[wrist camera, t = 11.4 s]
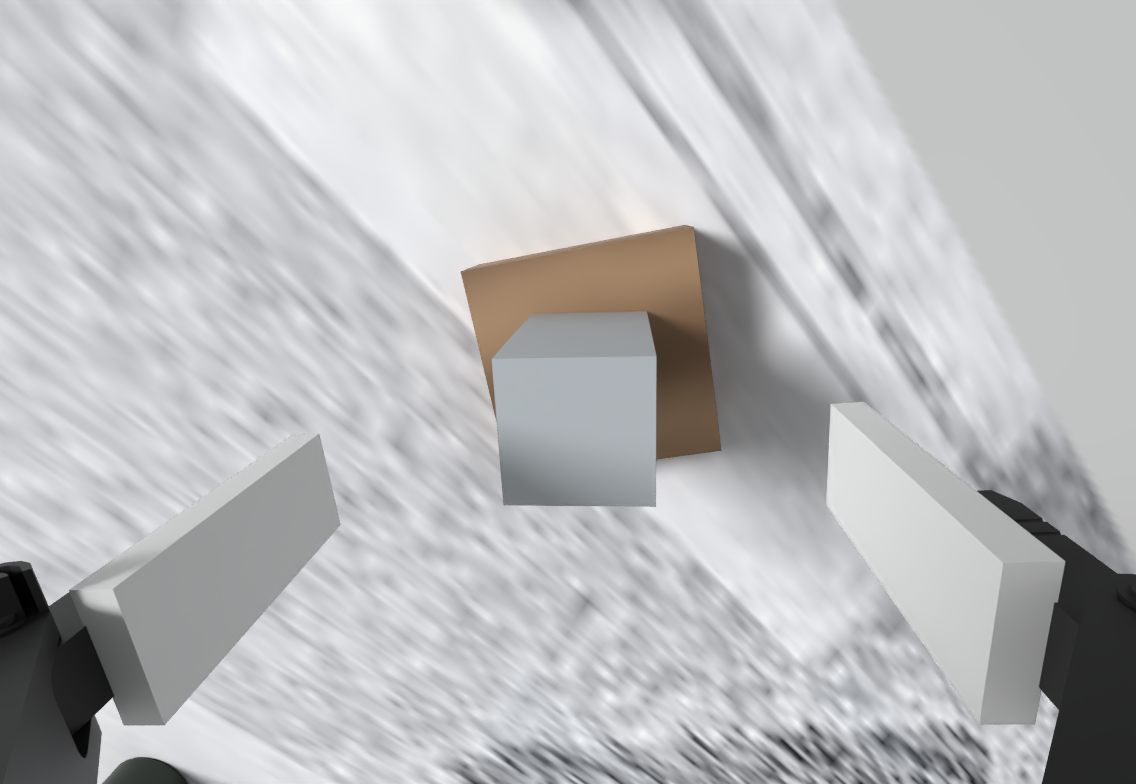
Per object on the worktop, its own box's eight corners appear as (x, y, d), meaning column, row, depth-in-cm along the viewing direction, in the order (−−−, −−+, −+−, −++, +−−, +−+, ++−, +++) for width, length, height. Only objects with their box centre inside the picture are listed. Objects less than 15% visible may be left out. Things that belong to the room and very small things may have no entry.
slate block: (531, 314, 25) (491, 359, 18) (646, 311, 25) (656, 356, 17) (538, 421, 27) (503, 505, 19) (646, 420, 26) (655, 506, 19)
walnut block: (481, 263, 29) (460, 271, 25) (683, 224, 27) (693, 227, 24) (523, 447, 32) (510, 479, 28) (708, 420, 30) (721, 450, 26)
